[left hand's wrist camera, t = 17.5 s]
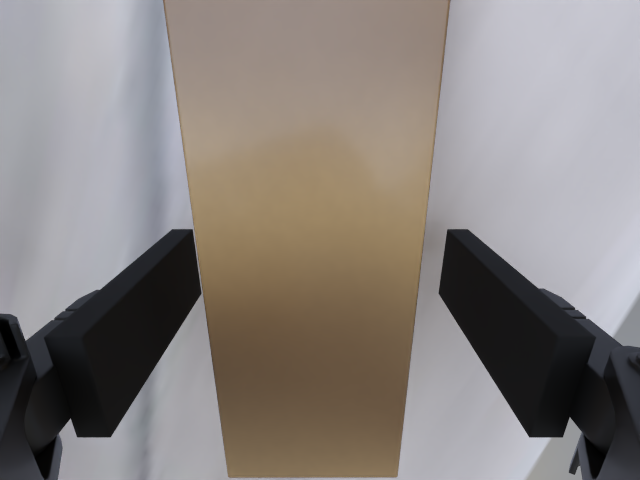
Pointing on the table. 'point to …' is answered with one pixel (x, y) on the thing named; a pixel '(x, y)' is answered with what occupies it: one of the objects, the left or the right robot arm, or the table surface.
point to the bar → (309, 218)
